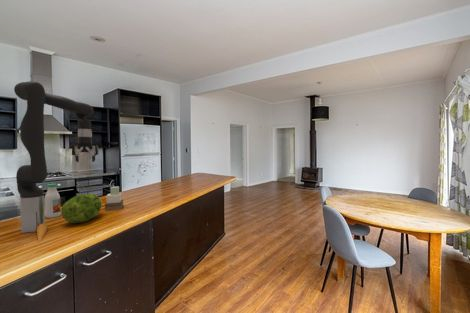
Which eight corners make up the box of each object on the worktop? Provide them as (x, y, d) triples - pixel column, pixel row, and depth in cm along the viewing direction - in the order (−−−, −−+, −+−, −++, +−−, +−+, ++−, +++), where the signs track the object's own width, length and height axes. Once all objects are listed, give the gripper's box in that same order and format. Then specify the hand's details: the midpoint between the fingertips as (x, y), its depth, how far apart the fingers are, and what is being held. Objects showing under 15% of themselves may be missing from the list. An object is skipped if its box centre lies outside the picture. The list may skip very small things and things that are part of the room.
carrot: (39, 232, 120) (35, 225, 119) (50, 227, 123) (45, 220, 121) (35, 250, 104) (30, 242, 103) (47, 244, 106) (42, 236, 105)
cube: (118, 194, 163) (118, 187, 163) (110, 195, 161) (110, 188, 161) (119, 193, 168) (119, 186, 167) (111, 193, 166) (111, 186, 166)
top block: (119, 202, 162) (119, 195, 162) (106, 203, 160) (106, 195, 159) (121, 199, 170) (121, 192, 169) (109, 200, 167) (109, 193, 167)
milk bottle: (47, 219, 140) (46, 185, 139) (43, 216, 145) (42, 184, 144) (62, 216, 146) (61, 183, 145) (58, 213, 151) (57, 182, 150)
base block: (121, 209, 162) (121, 202, 161) (105, 211, 158) (104, 203, 158) (123, 206, 171) (123, 199, 171) (107, 207, 168) (107, 200, 167)
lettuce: (110, 213, 151) (109, 189, 151) (83, 227, 125) (83, 198, 124) (87, 213, 151) (86, 189, 151) (55, 227, 125) (54, 198, 124)
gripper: (69, 136, 144) (70, 162, 145) (96, 136, 149) (96, 161, 150) (73, 136, 152) (74, 161, 152) (98, 136, 156) (99, 161, 157)
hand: (85, 161), depth 151 cm, fingers open, 8 cm apart
